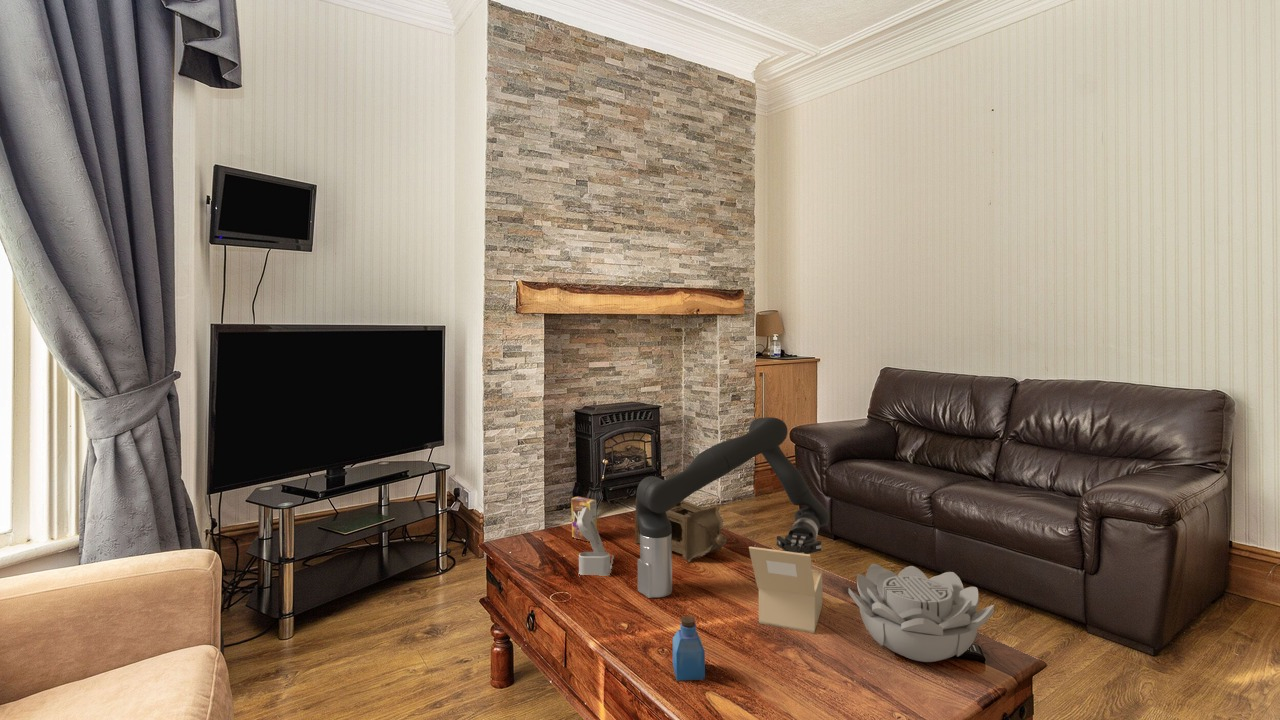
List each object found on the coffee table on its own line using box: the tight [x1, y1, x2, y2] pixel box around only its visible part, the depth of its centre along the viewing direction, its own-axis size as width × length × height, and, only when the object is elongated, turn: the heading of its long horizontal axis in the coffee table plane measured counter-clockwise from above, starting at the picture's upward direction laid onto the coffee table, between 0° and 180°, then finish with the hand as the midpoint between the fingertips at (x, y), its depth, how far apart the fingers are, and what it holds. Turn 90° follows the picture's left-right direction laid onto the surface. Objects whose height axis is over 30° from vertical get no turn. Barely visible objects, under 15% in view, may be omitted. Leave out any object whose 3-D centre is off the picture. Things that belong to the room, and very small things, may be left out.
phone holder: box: [577, 507, 615, 576], centre depth 196 cm, size 17×10×18 cm, turn 178°
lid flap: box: [748, 546, 815, 597], centre depth 149 cm, size 16×14×1 cm
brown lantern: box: [634, 499, 728, 564], centre depth 209 cm, size 35×18×18 cm, turn 42°
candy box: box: [570, 495, 598, 541], centre depth 221 cm, size 9×4×15 cm, turn 57°
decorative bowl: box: [848, 563, 995, 663], centre depth 143 cm, size 30×30×15 cm
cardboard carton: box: [758, 568, 823, 634], centre depth 162 cm, size 16×14×10 cm
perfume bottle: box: [672, 615, 706, 681], centre depth 135 cm, size 6×6×12 cm
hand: (793, 554), depth 163 cm, fingers closed
